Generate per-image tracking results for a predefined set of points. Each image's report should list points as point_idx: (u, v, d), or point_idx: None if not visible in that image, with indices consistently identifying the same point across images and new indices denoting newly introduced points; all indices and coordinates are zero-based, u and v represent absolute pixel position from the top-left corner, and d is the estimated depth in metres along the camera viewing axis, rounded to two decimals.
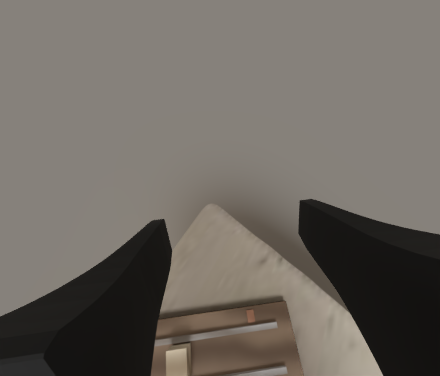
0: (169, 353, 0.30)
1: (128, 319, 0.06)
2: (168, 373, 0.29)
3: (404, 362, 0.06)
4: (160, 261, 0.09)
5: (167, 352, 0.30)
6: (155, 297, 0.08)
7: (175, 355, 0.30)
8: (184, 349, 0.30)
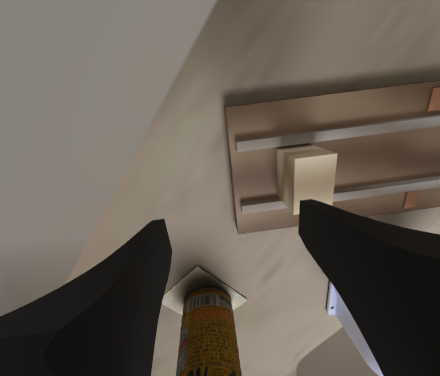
0: (301, 162, 0.14)
1: (128, 319, 0.06)
2: (298, 193, 0.15)
3: (405, 362, 0.06)
4: (160, 261, 0.09)
5: (297, 161, 0.14)
6: (155, 297, 0.08)
7: (313, 165, 0.14)
8: (333, 155, 0.14)
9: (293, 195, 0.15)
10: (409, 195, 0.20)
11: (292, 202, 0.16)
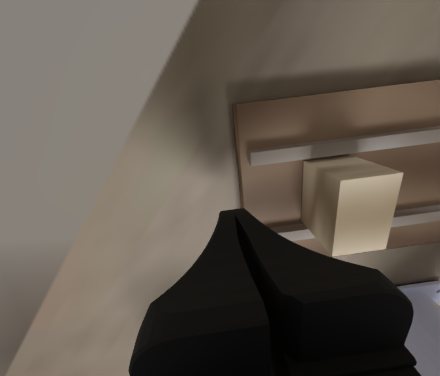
0: (350, 186, 0.10)
1: None
2: (342, 227, 0.10)
3: None
4: None
5: (344, 183, 0.10)
6: None
7: (366, 190, 0.10)
8: (397, 176, 0.10)
9: (332, 231, 0.11)
10: None
11: (330, 239, 0.11)
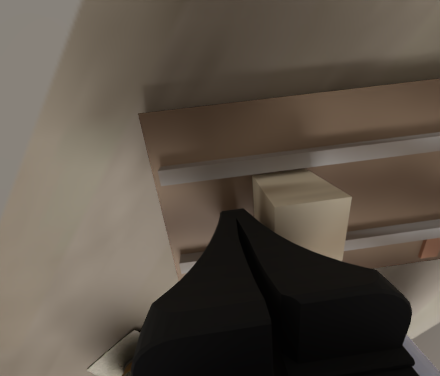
0: (287, 213, 0.08)
1: None
2: None
3: None
4: None
5: (280, 210, 0.08)
6: None
7: (308, 217, 0.08)
8: (344, 201, 0.08)
9: None
10: (429, 241, 0.14)
11: None
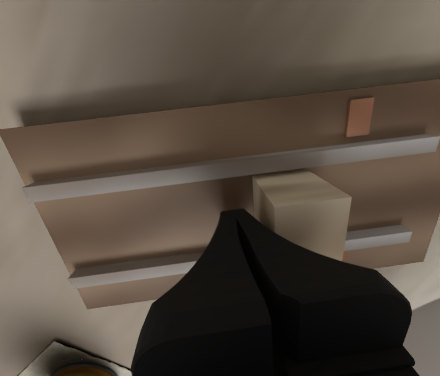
0: (287, 213, 0.08)
1: None
2: None
3: None
4: None
5: (280, 210, 0.08)
6: None
7: (308, 217, 0.08)
8: (344, 201, 0.08)
9: None
10: None
11: None
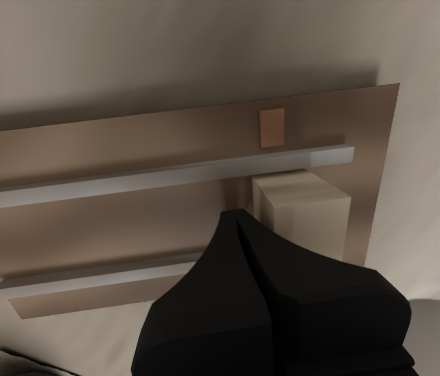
0: (287, 213, 0.08)
1: None
2: None
3: None
4: None
5: (279, 210, 0.08)
6: None
7: (307, 218, 0.08)
8: (344, 201, 0.08)
9: None
10: None
11: None
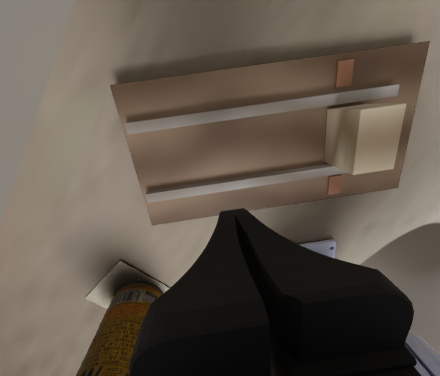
0: (367, 114, 0.13)
1: None
2: (361, 149, 0.14)
3: None
4: None
5: (363, 112, 0.13)
6: None
7: (379, 118, 0.13)
8: (402, 106, 0.13)
9: (353, 153, 0.14)
10: (331, 180, 0.19)
11: (352, 161, 0.15)
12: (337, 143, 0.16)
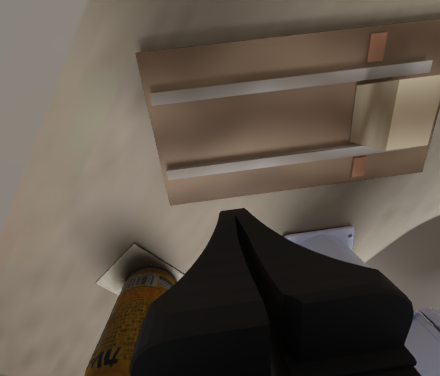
0: (406, 84, 0.13)
1: None
2: (396, 123, 0.14)
3: None
4: None
5: (402, 82, 0.13)
6: None
7: (417, 89, 0.13)
8: None
9: (388, 127, 0.14)
10: (356, 162, 0.18)
11: (385, 136, 0.14)
12: (367, 120, 0.15)
